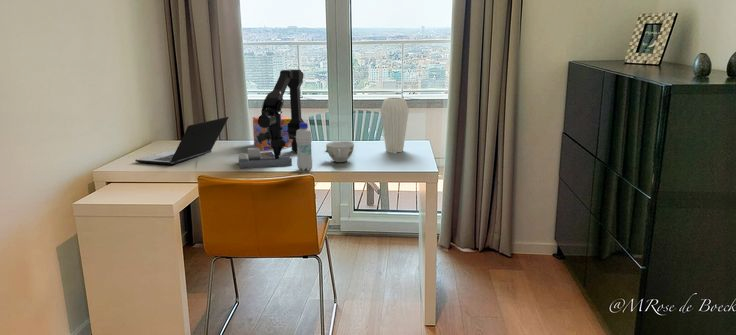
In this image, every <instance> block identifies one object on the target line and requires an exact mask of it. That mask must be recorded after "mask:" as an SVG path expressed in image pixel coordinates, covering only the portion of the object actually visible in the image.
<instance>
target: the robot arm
mask: <svg viewBox="0 0 736 335" xmlns="http://www.w3.org/2000/svg"><path fill="white" fill-rule="evenodd" d="M278 76H279V77H278V78H277V81H276V83H275V85H274V87H273V90H272V91H270V92H269V93H267V95H266V96H265V98H264V100H263V104H262V107H261V110H260V111H261V114H260V115H259V116H258V117H259V118H258V124H259V126H260V127H262V128H267V130H266V131H264V132H261V133H259V134H257V135H256V138H257V140H258V142H259V143H261V142H262V141H264V140H267V141H269V140H270V143H268V144H269V145H270V147H272V149H271V150H272V153H273V154H274V156H275V159H278V158H279V157H280V155H281V153H282V150H283V149H284V148H283V146H286V145H285V141H284V140H283V136H282V127H281V116H282V113H283V111H282V109H283V106H284V102H285V100H284V94H285V92H286V89H287V88H289V97H290V98H289V100H290V101H289V102H290V116H291V117H290V118H291V120H290V122H289V123H288V135H289V139H292V142H291V147H290V148H291V151H292V153H297V142H296V131H297V130H299V129H300V123H305V121H304V120H303V118H302V105H301V87H302V85H303V82H304V78H305V77H304V72H303V71H302V70H301V69H282V70H280V71H279V75H278Z"/></svg>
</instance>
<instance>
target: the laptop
mask: <svg viewBox="0 0 736 335" xmlns="http://www.w3.org/2000/svg"><path fill="white" fill-rule="evenodd" d="M228 119H229V116H225V117H221V118H218V119H213V120H208V121H204V122H198V123H194V124H190V125H188V126H187V127H186V128H185V129H186V130H185V132H184V134H183V136H182V137H181V140H180V141H179V144H178V146H177V148H173V149H172V148H171V149H170V150H165V151H161V152H159V153H154V154H152V155H147V156H143V157H141V158H137V159H135V160H134V161H135V162H138V163H146V164H147V163H148V164H159V165H160V164H161V165H170V166H171V165H174V164H178V163H182V162H185V161H187V160H191V159H194V158H198V157H201V156H204V155H206V154H210V153H212V150H213V148H214V146H215V143H216V142H217V140H218V138H219V136H220V135H221V132H222V131H223V129H224V127H225V125H226V123H227V122H228Z"/></svg>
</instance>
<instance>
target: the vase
mask: <svg viewBox="0 0 736 335" xmlns="http://www.w3.org/2000/svg"><path fill="white" fill-rule="evenodd" d="M380 113H381V114H380V115H381V123H382V129H383V138H384V144H385V152H386V151H387V152H386V153H389V152H393V153H392V154H398V153H397V152H401V153H403V152H404V147H405V139H406V134H407V133H406V132H407V126H408V116H409V107H408V103H407V101H406V99H405V98H404V97H396V96H395V97H385V98H384V100H383V102H382V105H381V109H380ZM402 151H403V152H402ZM394 152H395V153H394Z"/></svg>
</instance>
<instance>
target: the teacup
mask: <svg viewBox="0 0 736 335" xmlns="http://www.w3.org/2000/svg"><path fill="white" fill-rule="evenodd" d="M325 146H326V147H325V149H326V148H327V149H326V151H327V154H328V156H329V157H330V158H331V159H332V160H333V162H337V163H344V162H345V163H346V162H347V161H348V160H349V159H350V157H351V156H352V154H353V151H354V146H355V143H354V142H351V141H335V142H329V143H326V145H325Z"/></svg>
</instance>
